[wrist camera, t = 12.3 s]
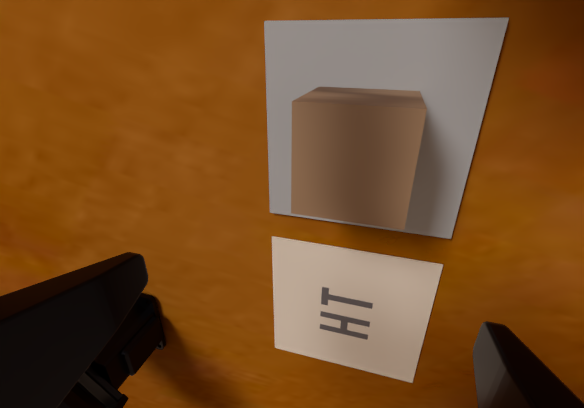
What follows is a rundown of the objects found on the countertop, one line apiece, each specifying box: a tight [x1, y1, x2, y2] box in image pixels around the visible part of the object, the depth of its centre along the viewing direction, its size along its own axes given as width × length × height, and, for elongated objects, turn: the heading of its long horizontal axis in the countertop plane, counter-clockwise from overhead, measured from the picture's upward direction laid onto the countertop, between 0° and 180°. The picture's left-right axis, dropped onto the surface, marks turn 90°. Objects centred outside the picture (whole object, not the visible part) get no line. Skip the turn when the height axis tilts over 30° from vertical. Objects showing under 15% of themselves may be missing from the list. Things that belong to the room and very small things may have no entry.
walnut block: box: [291, 87, 427, 230], centre depth 15 cm, size 5×5×5 cm
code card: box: [272, 236, 443, 383], centre depth 24 cm, size 11×11×1 cm
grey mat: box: [264, 18, 509, 239], centre depth 18 cm, size 11×11×1 cm
